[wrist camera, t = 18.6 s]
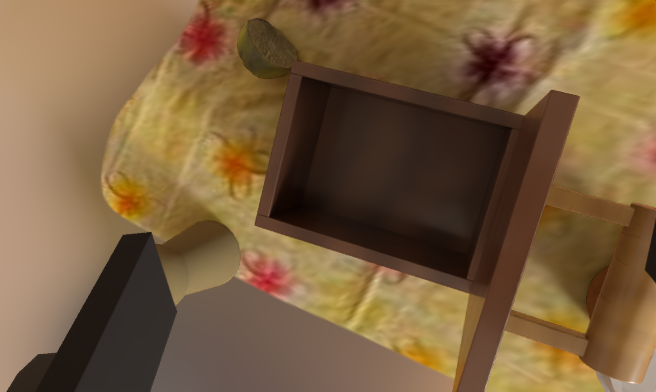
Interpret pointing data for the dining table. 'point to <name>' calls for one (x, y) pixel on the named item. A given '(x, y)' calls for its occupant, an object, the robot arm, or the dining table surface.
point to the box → (387, 173)
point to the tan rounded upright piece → (199, 258)
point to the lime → (265, 49)
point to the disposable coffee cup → (650, 391)
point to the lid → (513, 250)
